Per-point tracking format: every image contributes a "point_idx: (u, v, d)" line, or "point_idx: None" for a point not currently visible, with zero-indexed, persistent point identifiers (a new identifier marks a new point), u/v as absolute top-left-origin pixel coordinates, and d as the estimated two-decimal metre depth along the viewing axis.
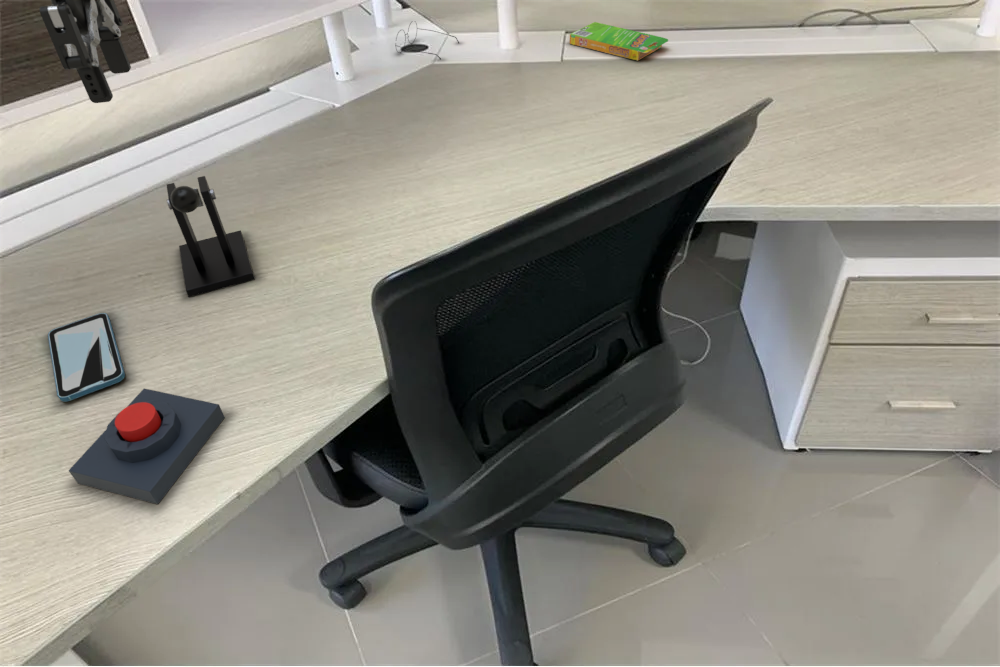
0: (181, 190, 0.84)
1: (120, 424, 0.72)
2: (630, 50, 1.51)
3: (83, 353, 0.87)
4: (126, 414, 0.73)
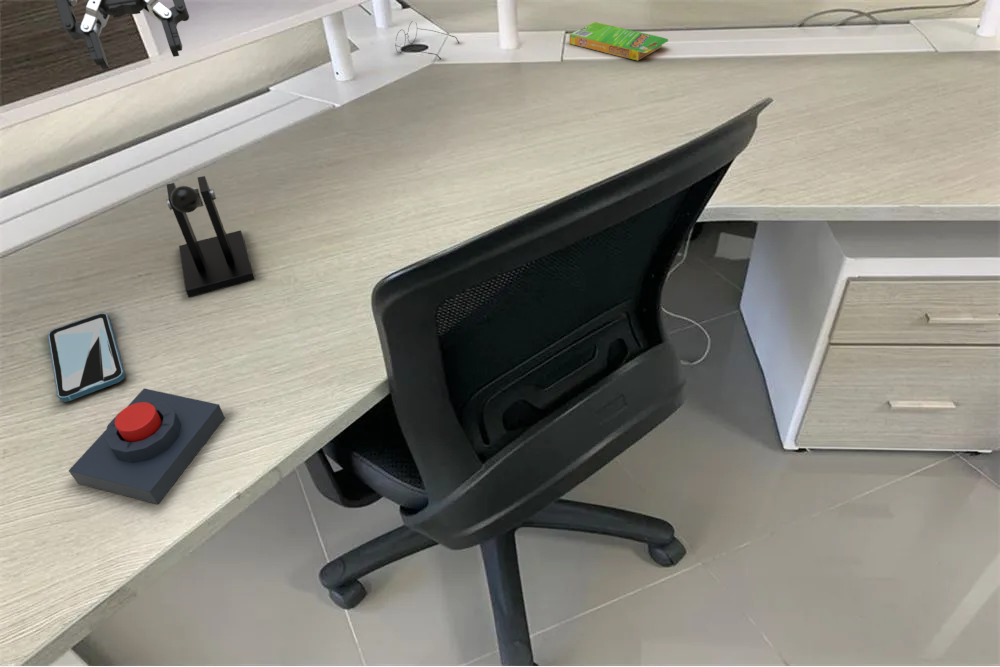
0: (181, 190, 0.84)
1: (120, 424, 0.72)
2: (630, 50, 1.51)
3: (83, 353, 0.87)
4: (126, 414, 0.73)
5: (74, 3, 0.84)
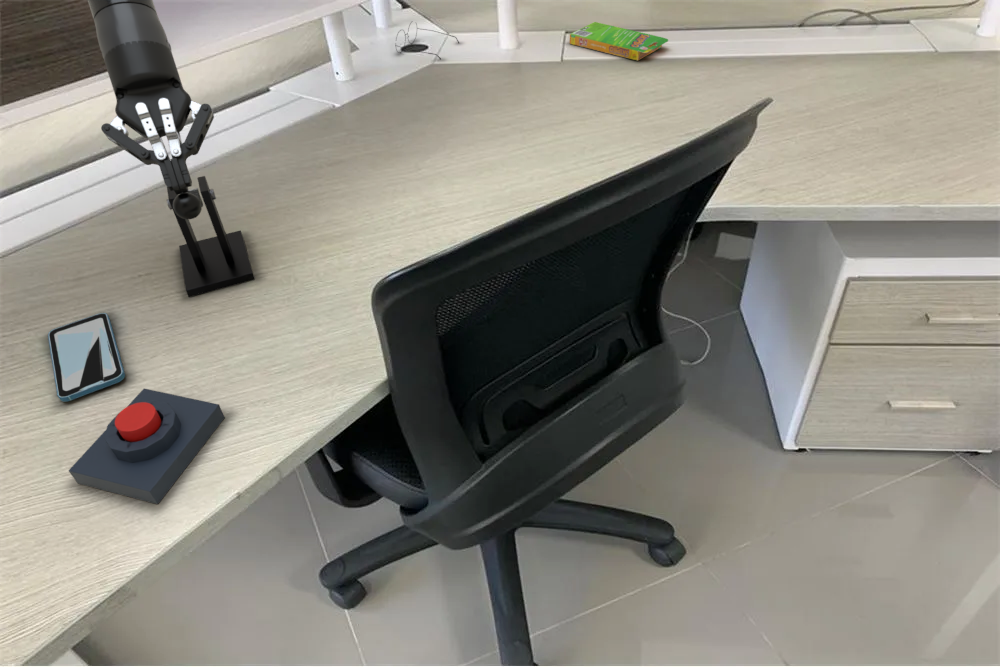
0: (184, 198, 0.84)
1: (120, 424, 0.72)
2: (630, 50, 1.51)
3: (83, 353, 0.87)
4: (126, 414, 0.73)
5: (127, 133, 0.83)
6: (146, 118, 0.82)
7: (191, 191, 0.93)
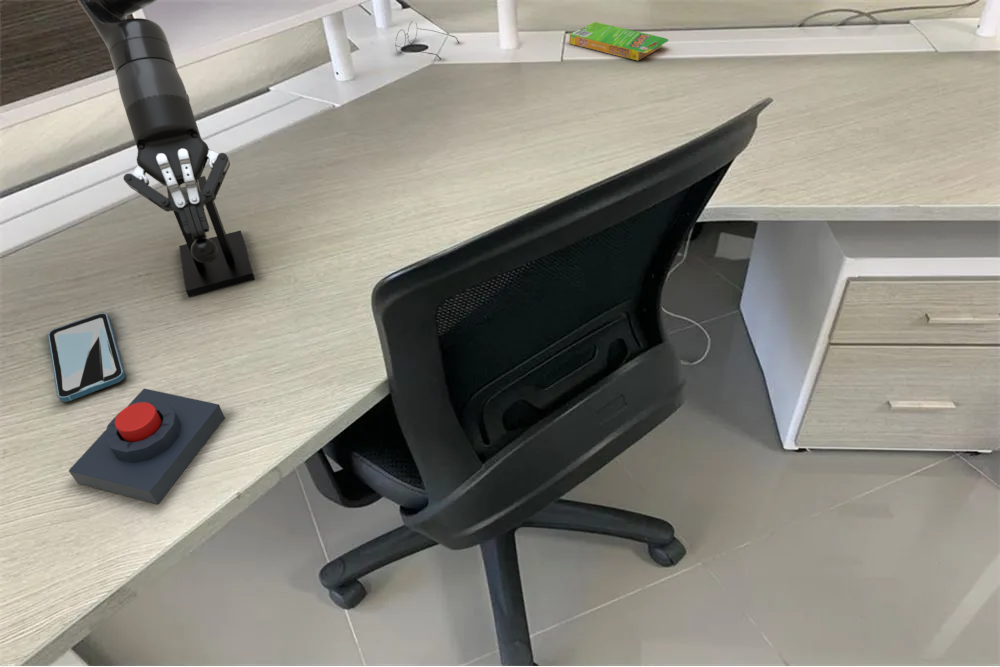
0: (203, 251, 0.87)
1: (120, 424, 0.72)
2: (630, 50, 1.51)
3: (83, 353, 0.87)
4: (126, 414, 0.73)
5: (148, 182, 0.87)
6: (166, 168, 0.86)
7: None
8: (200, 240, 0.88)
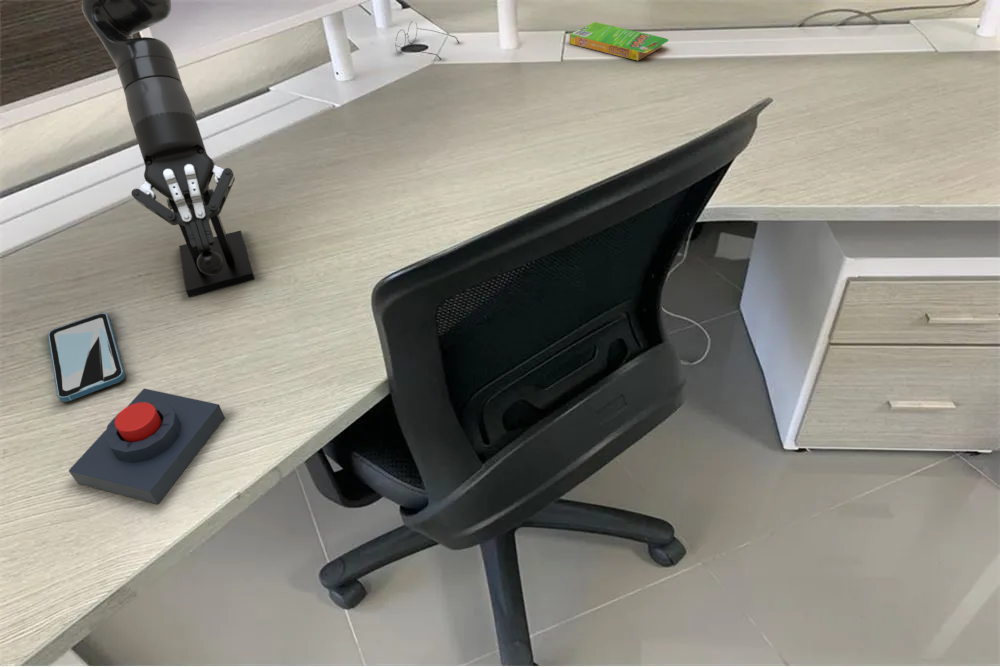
0: (210, 266, 0.90)
1: (120, 424, 0.72)
2: (630, 50, 1.51)
3: (83, 353, 0.87)
4: (126, 414, 0.73)
5: (155, 197, 0.89)
6: (173, 183, 0.88)
7: None
8: (206, 255, 0.90)
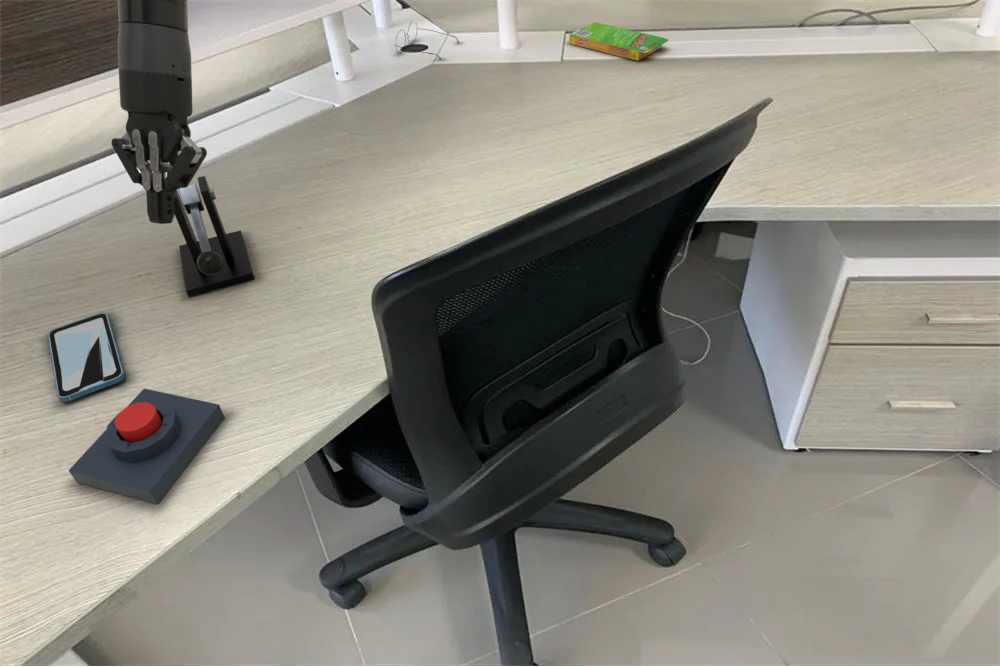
0: (210, 266, 0.90)
1: (120, 424, 0.72)
2: (630, 50, 1.51)
3: (83, 353, 0.87)
4: (126, 414, 0.73)
5: (136, 149, 0.84)
6: (139, 146, 0.81)
7: (195, 202, 0.93)
8: (206, 255, 0.90)
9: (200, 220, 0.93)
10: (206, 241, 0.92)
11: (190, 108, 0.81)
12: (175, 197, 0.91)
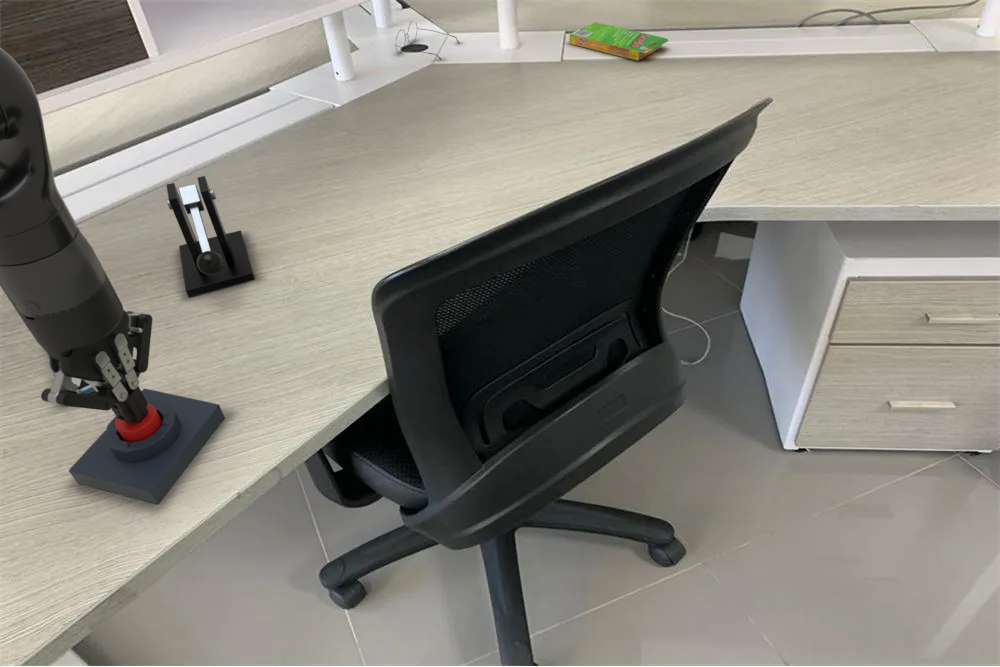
0: (210, 266, 0.90)
1: (120, 425, 0.72)
2: (630, 50, 1.51)
3: None
4: None
5: (130, 334, 0.70)
6: None
7: (195, 202, 0.93)
8: (206, 255, 0.90)
9: (200, 220, 0.93)
10: (206, 241, 0.92)
11: (65, 344, 0.61)
12: (175, 197, 0.91)
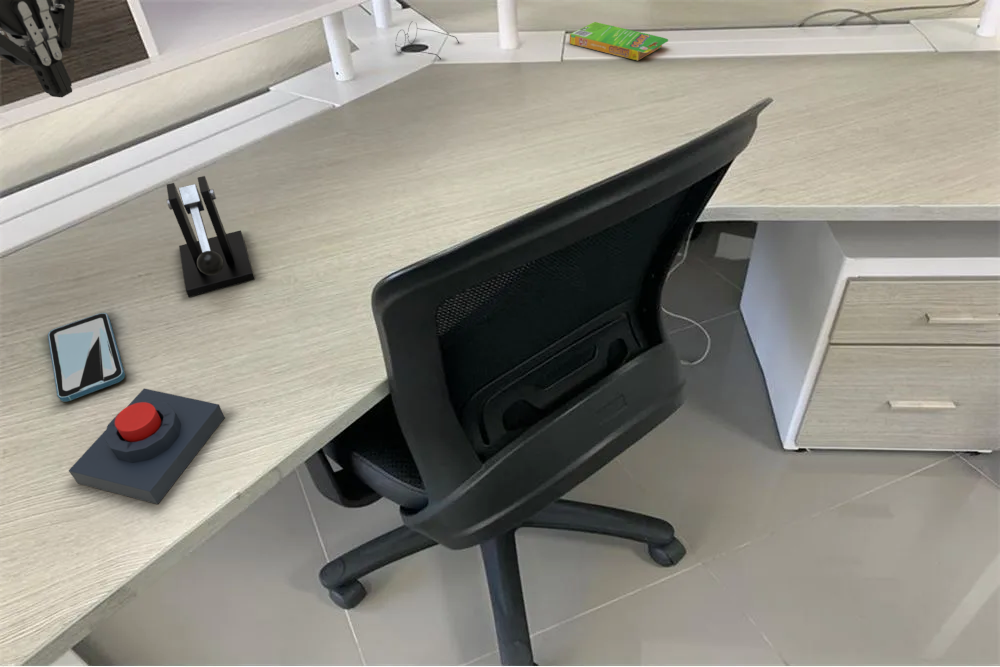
0: (210, 266, 0.90)
1: (120, 424, 0.72)
2: (630, 50, 1.51)
3: (83, 353, 0.87)
4: (126, 414, 0.73)
5: (53, 9, 0.79)
6: None
7: (195, 202, 0.93)
8: (206, 255, 0.90)
9: (200, 220, 0.93)
10: (206, 241, 0.92)
11: None
12: (175, 197, 0.91)
